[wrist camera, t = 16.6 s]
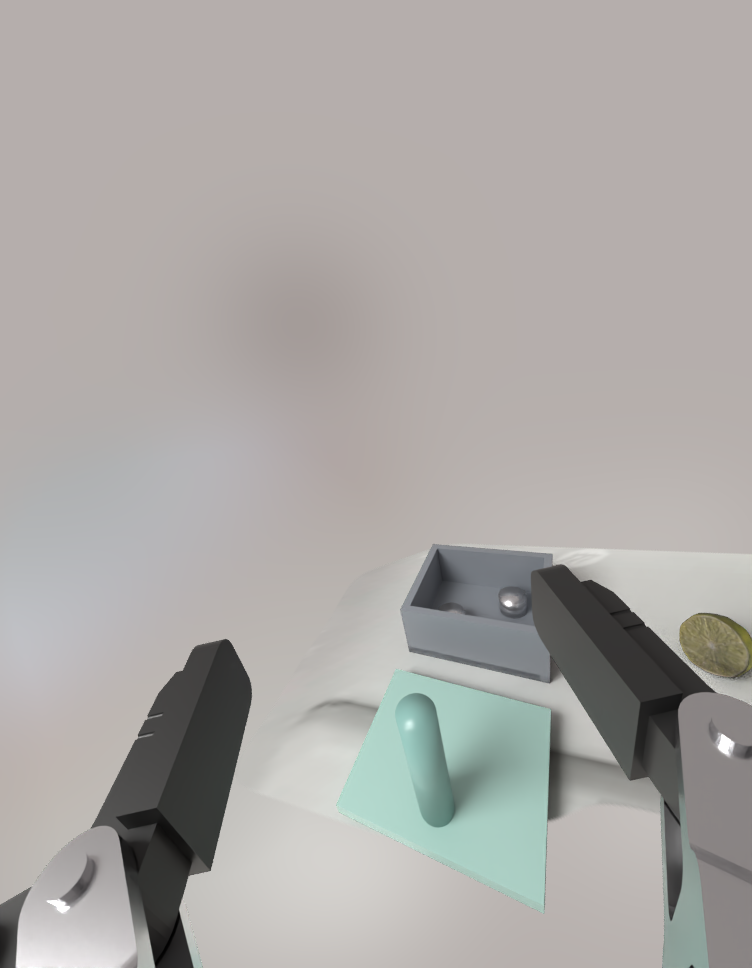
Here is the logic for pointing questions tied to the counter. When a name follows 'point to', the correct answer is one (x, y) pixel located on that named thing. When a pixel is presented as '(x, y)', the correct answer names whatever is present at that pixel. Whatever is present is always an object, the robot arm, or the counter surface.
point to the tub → (476, 610)
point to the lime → (716, 644)
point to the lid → (458, 781)
